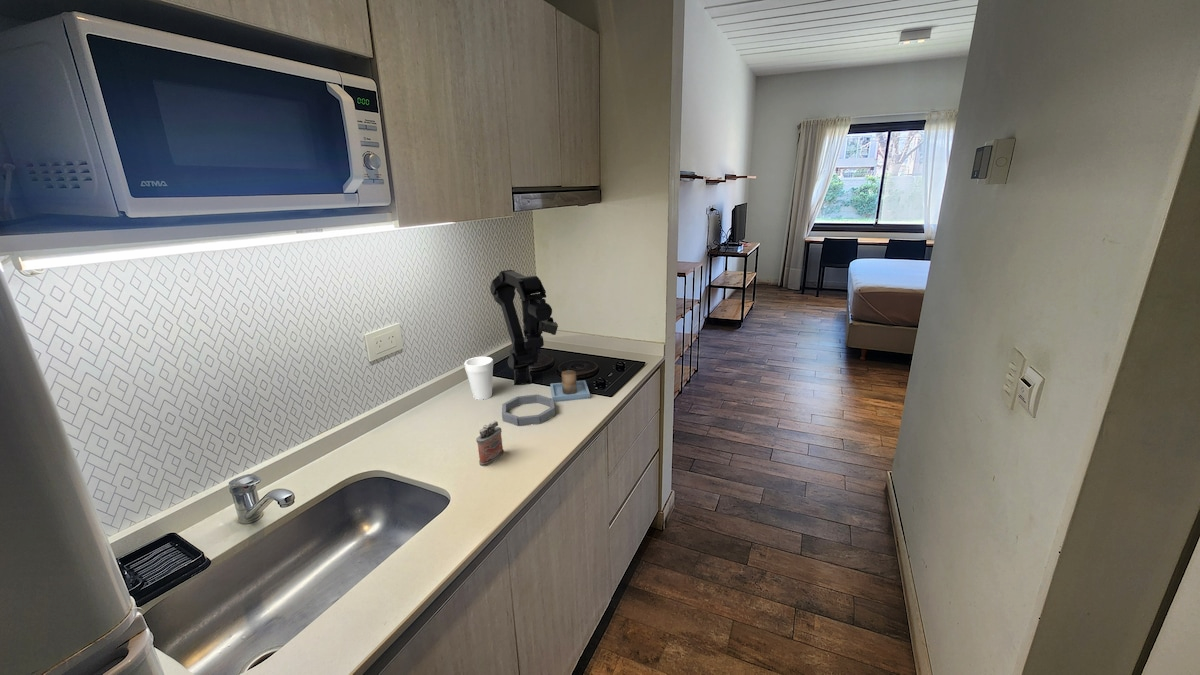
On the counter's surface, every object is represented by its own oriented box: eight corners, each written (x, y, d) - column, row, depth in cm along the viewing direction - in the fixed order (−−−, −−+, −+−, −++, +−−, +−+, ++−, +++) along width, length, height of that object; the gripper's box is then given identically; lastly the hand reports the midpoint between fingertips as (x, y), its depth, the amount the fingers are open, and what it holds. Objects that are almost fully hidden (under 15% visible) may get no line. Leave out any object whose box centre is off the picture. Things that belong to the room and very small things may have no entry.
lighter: (485, 467, 127) (481, 433, 124) (476, 464, 129) (472, 430, 126) (506, 453, 133) (503, 420, 130) (497, 449, 135) (494, 417, 132)
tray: (550, 388, 174) (550, 383, 173) (585, 384, 176) (585, 380, 175) (552, 402, 163) (552, 397, 163) (590, 398, 165) (589, 393, 164)
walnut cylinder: (561, 389, 171) (560, 370, 169) (575, 387, 172) (575, 369, 170) (563, 395, 167) (562, 376, 164) (577, 393, 167) (576, 374, 165)
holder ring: (503, 404, 163) (502, 397, 162) (552, 399, 165) (552, 392, 164) (502, 427, 147) (501, 420, 146) (556, 421, 150) (555, 414, 149)
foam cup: (499, 390, 174) (496, 356, 170) (491, 401, 165) (487, 366, 161) (474, 390, 175) (469, 356, 171) (464, 401, 166) (460, 366, 162)
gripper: (557, 319, 154) (560, 365, 159) (553, 305, 172) (556, 347, 177) (522, 322, 153) (526, 368, 157) (521, 308, 170) (525, 350, 175)
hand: (534, 358), depth 167 cm, fingers open, 9 cm apart
